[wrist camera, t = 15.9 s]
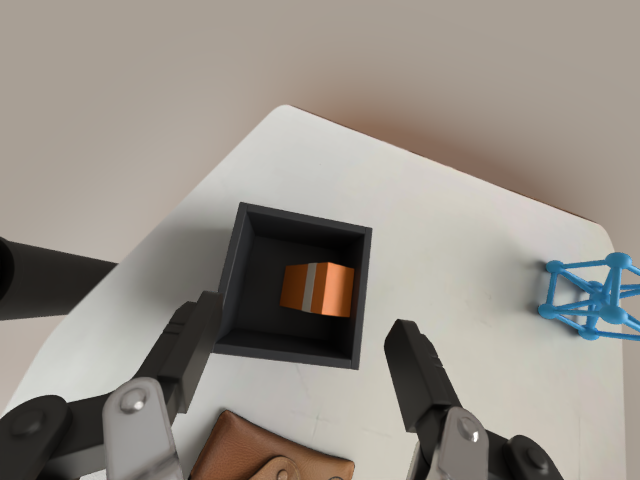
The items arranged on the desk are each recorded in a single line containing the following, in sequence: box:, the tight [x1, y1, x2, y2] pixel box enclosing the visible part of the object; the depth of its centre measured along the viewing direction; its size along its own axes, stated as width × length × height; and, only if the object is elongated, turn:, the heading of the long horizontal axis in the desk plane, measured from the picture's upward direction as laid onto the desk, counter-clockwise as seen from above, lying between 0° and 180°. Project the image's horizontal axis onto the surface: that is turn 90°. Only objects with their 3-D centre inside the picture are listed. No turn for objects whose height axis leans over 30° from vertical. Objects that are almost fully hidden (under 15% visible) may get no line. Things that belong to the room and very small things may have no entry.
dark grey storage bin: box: [211, 202, 372, 370], centre depth 28 cm, size 14×14×11 cm
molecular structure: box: [538, 252, 640, 341], centre depth 36 cm, size 10×10×10 cm
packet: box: [279, 262, 354, 317], centre depth 28 cm, size 4×5×9 cm
